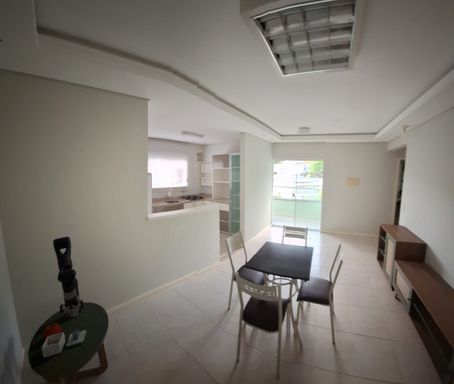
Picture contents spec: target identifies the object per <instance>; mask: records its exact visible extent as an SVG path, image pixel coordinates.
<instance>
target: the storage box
mask: <svg viewBox="0 0 454 384" xmlns="http://www.w3.org/2000/svg"><path fill="white" fill-rule="evenodd" d="M65 343H66V337H65V332H61V333H59V334H56V335H52V336H48V337H47V339H46V340H45V341H44V342H43V344H42V347H41V352H42V357H44V358H47V357H51V356H54V355H57V354H62V351H63V349H64V345H66V344H65Z"/></svg>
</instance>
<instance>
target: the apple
mask: <svg viewBox="0 0 454 384" xmlns="http://www.w3.org/2000/svg"><path fill="white" fill-rule="evenodd" d="M59 333H62V327H61V326H60V324H57V323H50V324H49V325H48V326H46V328H45V329H44V331H43V335H42V338H43V339H44V340H45V341H46V339H47V337H48V336H52V335H56V334H59Z"/></svg>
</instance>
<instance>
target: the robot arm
mask: <svg viewBox="0 0 454 384" xmlns="http://www.w3.org/2000/svg"><path fill="white" fill-rule="evenodd" d="M52 246H53V249H54V252H55V256H56V260H57V266H58V274H57V281H58V282H59V283H61V289H62V292H63V301H64V303H61V304H60V305H59V313H60V314H63V317H64V318H67V317H69V318H74V317H77V316H79V315H81V314H82V311H83V310H82V309H84V308H85V307H84V306H85V304H84V300H83V299H81V297H80V292H79V290H80V289H79V281H78V278H76V277H77V276H76V275H77V271H76V270H75V269H74V268H73V266H74V265H73V260H72V243H71V238H70V237H69V236H64V237H58V238H55V239H53V240H52ZM63 249H65V250H64V252H62V251H61V250H63ZM64 307H65V308H64Z"/></svg>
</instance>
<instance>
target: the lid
mask: <svg viewBox="0 0 454 384" xmlns="http://www.w3.org/2000/svg"><path fill="white" fill-rule="evenodd" d="M86 334H87V330H85V329H84V330H82V331H80V328H77V329H74V330H73V333H71V334H69V338H68V339H67V341H66V344H65V346H66V347H72V346H75V345H79V344H82V343H83V342H84V340H85V337H86Z"/></svg>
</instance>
